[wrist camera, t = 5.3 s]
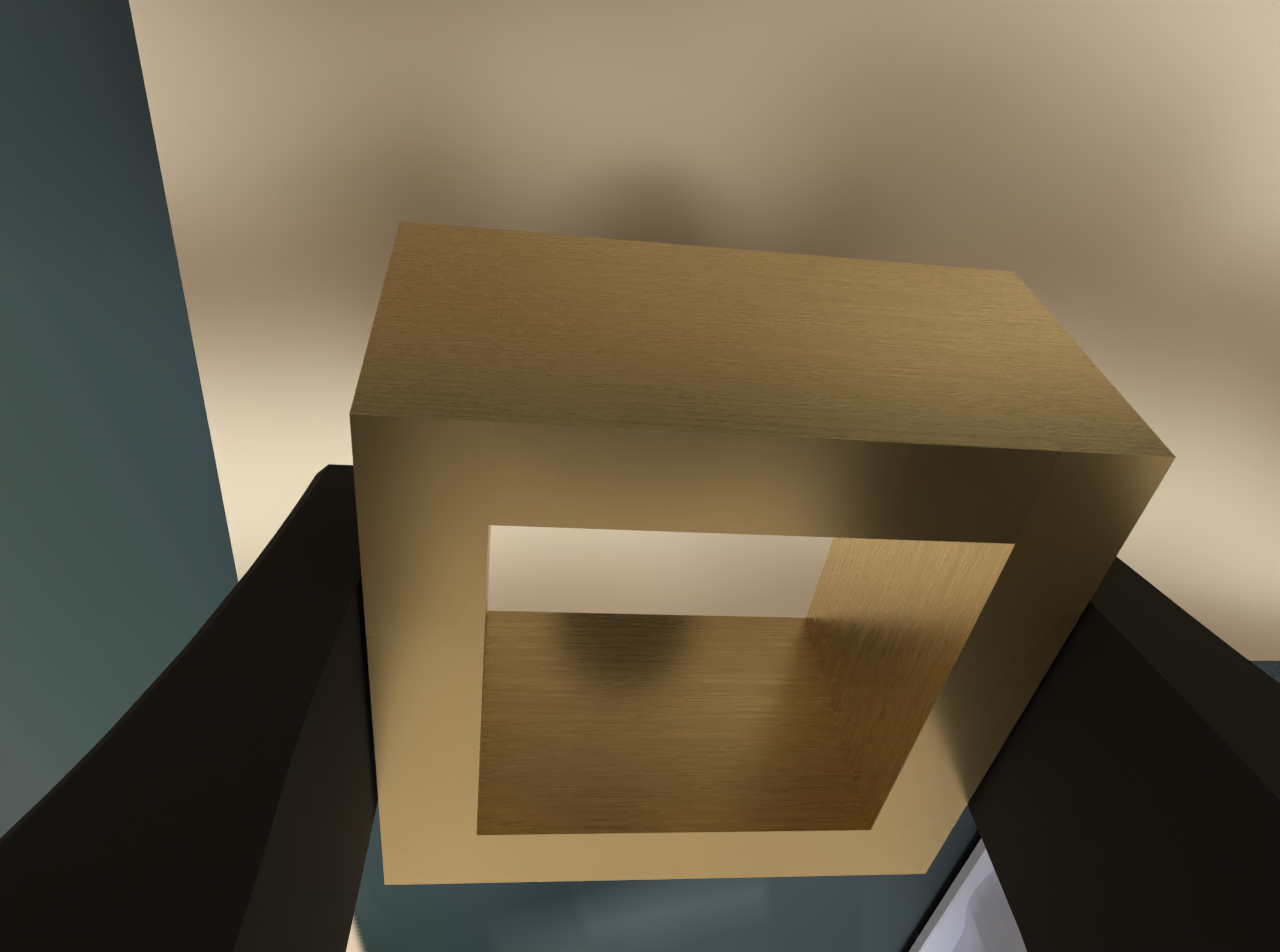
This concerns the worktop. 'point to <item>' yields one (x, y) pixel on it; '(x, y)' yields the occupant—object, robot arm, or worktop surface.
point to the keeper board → (743, 223)
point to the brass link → (728, 504)
